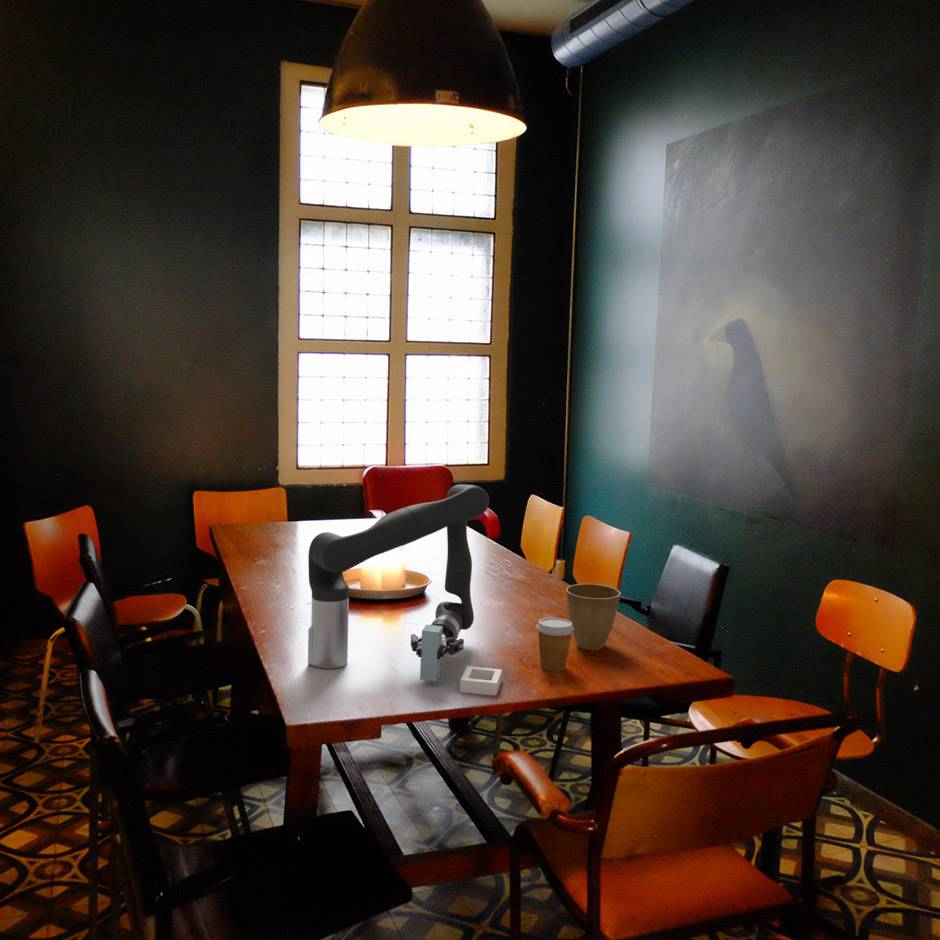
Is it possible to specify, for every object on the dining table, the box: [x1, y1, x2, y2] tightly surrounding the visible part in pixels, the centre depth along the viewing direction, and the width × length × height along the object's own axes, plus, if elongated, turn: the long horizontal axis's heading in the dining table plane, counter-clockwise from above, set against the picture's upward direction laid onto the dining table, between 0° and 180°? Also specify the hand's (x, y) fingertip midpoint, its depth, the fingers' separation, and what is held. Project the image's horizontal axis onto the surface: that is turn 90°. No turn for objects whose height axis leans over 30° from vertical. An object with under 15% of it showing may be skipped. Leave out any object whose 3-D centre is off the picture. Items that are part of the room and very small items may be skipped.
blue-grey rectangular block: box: [419, 624, 443, 682], centre depth 209 cm, size 4×5×12 cm
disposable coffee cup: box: [536, 617, 574, 673], centre depth 224 cm, size 10×10×12 cm
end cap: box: [459, 665, 503, 696], centre depth 209 cm, size 9×10×3 cm
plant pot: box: [565, 583, 621, 651], centre depth 242 cm, size 15×15×16 cm
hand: (429, 654), depth 207 cm, fingers closed on blue-grey rectangular block, 4 cm apart
